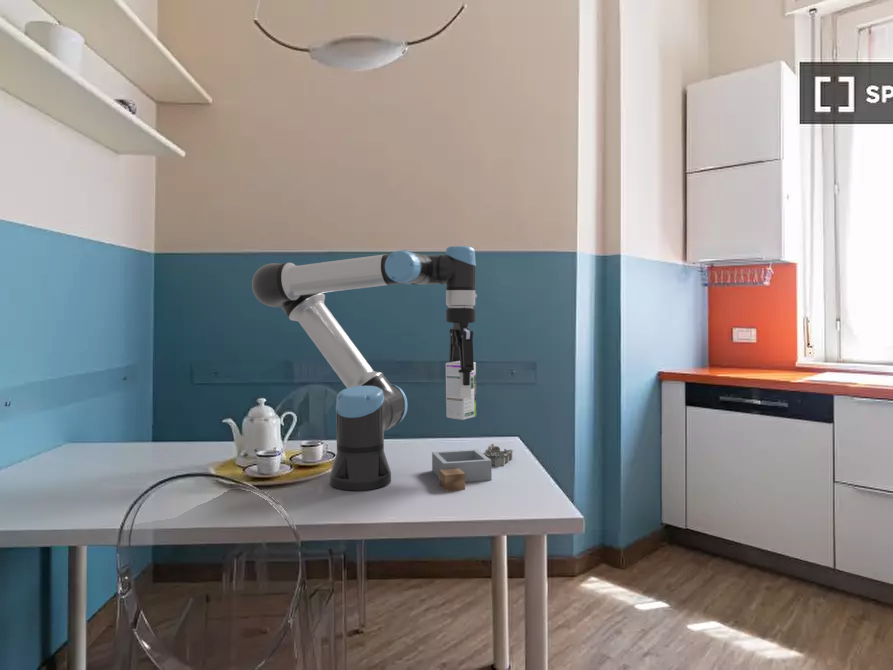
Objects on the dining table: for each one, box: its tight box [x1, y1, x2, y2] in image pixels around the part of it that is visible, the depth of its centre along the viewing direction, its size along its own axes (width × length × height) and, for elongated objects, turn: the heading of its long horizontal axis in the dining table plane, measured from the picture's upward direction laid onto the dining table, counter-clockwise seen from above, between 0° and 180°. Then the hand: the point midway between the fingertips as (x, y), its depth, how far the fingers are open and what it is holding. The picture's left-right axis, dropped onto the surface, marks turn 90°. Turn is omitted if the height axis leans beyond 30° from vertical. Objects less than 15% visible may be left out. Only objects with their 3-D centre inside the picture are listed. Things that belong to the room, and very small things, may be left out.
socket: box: [431, 448, 492, 483], centre depth 165 cm, size 12×12×5 cm
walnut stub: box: [438, 468, 466, 492], centre depth 154 cm, size 5×5×4 cm
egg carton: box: [482, 443, 514, 467], centre depth 180 cm, size 11×8×4 cm
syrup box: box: [445, 361, 477, 421], centre depth 164 cm, size 6×6×14 cm
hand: (460, 395), depth 164 cm, fingers closed on syrup box, 8 cm apart
